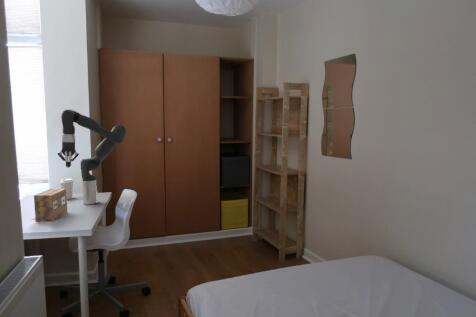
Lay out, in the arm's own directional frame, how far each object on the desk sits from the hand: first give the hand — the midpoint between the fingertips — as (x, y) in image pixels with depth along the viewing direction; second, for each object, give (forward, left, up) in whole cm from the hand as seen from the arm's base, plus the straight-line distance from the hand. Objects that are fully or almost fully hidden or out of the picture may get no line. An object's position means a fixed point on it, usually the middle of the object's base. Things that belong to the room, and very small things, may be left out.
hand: (68, 167), depth 218 cm
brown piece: (+9, +8, -30) cm, 33 cm away
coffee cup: (+12, -44, -31) cm, 55 cm away
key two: (+8, +13, -24) cm, 28 cm away
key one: (+6, +3, -24) cm, 25 cm away
